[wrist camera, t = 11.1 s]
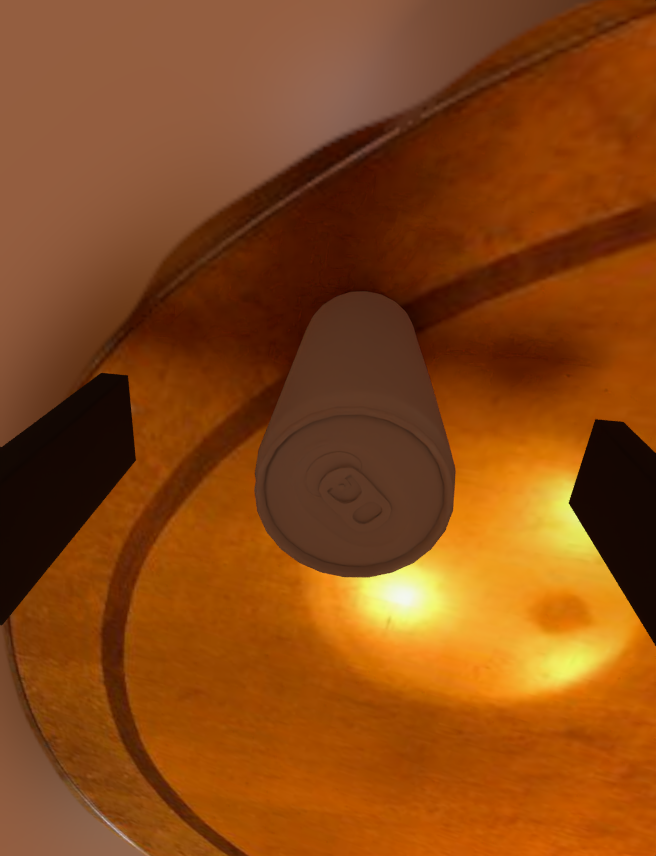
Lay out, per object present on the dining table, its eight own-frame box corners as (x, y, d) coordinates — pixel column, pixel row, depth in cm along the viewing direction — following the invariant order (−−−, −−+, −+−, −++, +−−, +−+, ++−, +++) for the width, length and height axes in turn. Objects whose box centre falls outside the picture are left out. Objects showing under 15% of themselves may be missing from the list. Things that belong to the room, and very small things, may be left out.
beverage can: (369, 262, 21) (369, 357, 11) (440, 352, 23) (503, 515, 12) (281, 337, 23) (204, 485, 12) (353, 416, 24) (340, 612, 14)
